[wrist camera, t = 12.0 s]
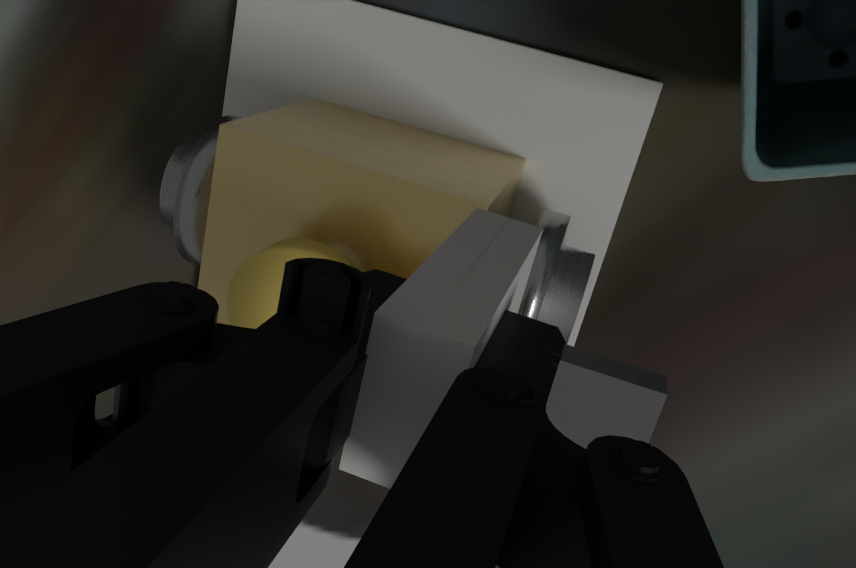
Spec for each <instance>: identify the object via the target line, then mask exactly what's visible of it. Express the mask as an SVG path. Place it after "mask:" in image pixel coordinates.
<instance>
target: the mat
mask: <svg viewBox="0 0 856 568" xmlns="http://www.w3.org/2000/svg"><path fill="white" fill-rule="evenodd" d="M662 86H663V83H661V82H658V81H654V80H650V79H646V78H643V77H639V76H635V75H631V74H628V73H624V72H620V71H616V70H613V69H609V68H605V67H601V66H598V65H594V64H590V63H587V62H583V61H579V60H575V59H572V58H568V57H564V56H560V55H557V54H553V53H549V52H545V51H542V50H538V49H534V48H531V47H527V46H523V45H519V44H516V43H512V42H508V41H504V40H501V39H497V38H493V37H489V36H486V35H482V34H478V33H474V32H471V31H467V30H463V29H460V28H456V27H452V26H448V25H445V24H441V23H437V22H433V21H430V20H426V19H422V18H418V17H415V16H411V15H407V14H404V13H400V12H396V11H392V10H389V9H385V8H381V7H377V6H374V5H370V4H366V3H362V2H359V1H355V0H238V1H237V9H236V16H235V23H234V31H233V38H232V46H231V53H230V61H229V68H228V75H227V83H226V90H225V98H224V105H223V113H222V117H223V116H226V115H235V116H239V117H242V118H244V117H248V116H252V115H256V114H259V113H263V112H267V111H271V110H274V109H278V108H282V107H285V106H289V105H293V104H297V103H300V102H304V101H308V100H312V99H315V98H318V99H321V100H325V101H328V102H332V103H335V104H339V105H342V106H345V107H349V108H352V109H356V110H359V111H363V112H366V113H370V114H373V115H376V116H380V117H383V118H387V119H390V120H394V121H397V122H401V123H404V124H407V125H411V126H414V127H418V128H421V129H425V130H428V131H431V132H435V133H438V134H442V135H445V136H449V137H452V138H456V139H459V140H462V141H466V142H469V143H473V144H476V145H480V146H483V147H487V148H490V149H493V150H497V151H500V152H504V153H507V154H511V155H514V156H518V157H521V158H524V159H527V160H526V164H525V167H524V171H523V174H522V178H521V181H520V185H519V188H518V192H517V195H516V199H515V202H514V206H513V209H512V212H511V216H510V218H511V219H514V220H518V221H521V222H524V223H527V224H531V225H535V223H536V220H537V218H538V215H539V213H540V211H541V209H542V208H546V209H549V210H553V211H556V212H559V213H563V214H566V215H569V216H571V219H570V222H569V225H568V229H567V232H566V235H565V239H564V242H563V245H567V246H570V247H573V248H576V249H580V250H583V251H586V252H589V253H593V254H595V258H594V262H593V266H592V269H591V273H590V276H589V279H588V283H587V286H586V289H585V292H584V296H583V299H582V302H581V305H580V308H579V311H578V314H577V317H576V320H575V323H574V326H573V329H572V332H571V335H570V338H569V341H568V343H567V345H570V346H573V347H574V344H575V341H576V338H577V335H578V332H579V329H580V326H581V324H582V321H583V318H584V315H585V312H586V309H587V306H588V303H589V300H590V297H591V294H592V291H593V288H594V285H595V282H596V280H597V277H598V274H599V271H600V268H601V265H602V262H603V259H604V256H605V253H606V250H607V247H608V244H609V241H610V239H611V236H612V233H613V230H614V227H615V224H616V221H617V218H618V215H619V212H620V209H621V206H622V203H623V200H624V198H625V195H626V192H627V189H628V186H629V183H630V180H631V177H632V174H633V171H634V168H635V165H636V162H637V159H638V156H639V154H640V151H641V148H642V145H643V142H644V139H645V136H646V133H647V130H648V127H649V124H650V121H651V118H652V115H653V113H654V110H655V107H656V104H657V101H658V98H659V95H660V92H661V89H662Z"/></svg>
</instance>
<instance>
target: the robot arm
mask: <svg viewBox="0 0 856 568" xmlns="http://www.w3.org/2000/svg"><path fill="white" fill-rule="evenodd" d="M542 232H543V228H540V227H537V226H534V225H531V224H527V223H524V222H521V221H518V220H514V219H511V218H508V217H505V216H502V215H498V214H495V213H492V212H489V211H486V210H482V209H479V208H476V209H475V210H474V211H473V212H472V214H471V215H470V216H469V217H468V218H467V219H466V220H465V221H464V222H463V223H462V224H461V225H460V226H459V227H458V228H457V229H456V230H455V231H454V232H453V233H452V234H451V235H450V236H449V237H448V238H447V239H446V240H445V241H444V242H443V243H442V244H441V245H440V246H439V247H438V248H437V249H436V250H435V251H434V252H433V253H432V254H431V255H430V256H429V257H428V258H427V260H426V261H425V262H424V263H423V264H422V265H421V266H420V267H419V268H418V269H417V270H416V271H415V272H414V273H413V274H412V275H411V276H410V277H409V278H408V279H405V278H402V277H399V276H396V275H393V274H390V273H387V272H384V271H381V270H378V269H374V270H370V271H366V272H361V271H360V270H358V269H356V268H354V267H352V266H349V265H347V264H345V263H341V262H337V261H333V260H329V259H321V258H311V257H310V258H297V259H294V260H291V261H288V262H285V268H284V274H283V279H282V285H281V291H280V296H279V302H278V308H277V313H276V314H274V315H273V316H272V317H271V318H269V319H268V320H267V321H265V322H264V323H263V324H262V325H260V326H259V327H258V328H256V329H253V328H244V327H239V326H233V325H227V324H222V323H217V318H218V311H219V305H218V303H217V301H216V299H215V298H214V297H213V296H211V295H210V294H209V293H207V292H206V291H204V290H201V289H198V288H196V287H194V286H192V285H190V284H186V283H183V284H181V282H175V281H170V282H154V283H148V284H142V285H138V286H134V287H131V288H127V289H124V290H120V291H117V292H114V293H110V294H107V295H103V296H100V297H97V298H93V299H90V300H86V301H83V302H79V303H76V304H73V305H69V306H66V307H62V308H59V309H55V310H52V311H49V312H45V313H42V314H38V315H35V316H31V317H28V318H25V319H21V320H18V321H14V322H11V323H7V324H4V325H1V326H0V568H268V566H269V565H270V564H271V562H272V561H273V559H274V558H275V557H276V555H277V554H278V552H279V551H280V550H281V548H282V547H283V545H284V544H285V543H286V541H287V540H288V538H289V537H290V536H291V534H292V533H293V532H294V530H295V528H296V527H297V526H298V525H299V523H300V522H301V520H302V519H303V518H304V516H305V515H306V513H307V512H308V511H309V509H310V508H311V506H312V505H313V504H314V502H315V501H316V499H317V498H318V497H319V495H320V494H321V492H322V491H323V490H324V488H325V487H326V484H327V482H328V479H329V475H330V471H331V466H332V462H333V457H334V456H335V454H336V453H337V452H338V450H339V449H340V448H341V446H342V445H343V444H344V442H345V445H344V449H343V453H342V458H341V462H340V466H339V469H340V470H343V471H345V472H348V473H350V474H353V475H356V476H358V477H361V478H363V479H366V480H369V481H371V482H374V483H376V484H379V485H382V486H384V487H387V488H389V489H390V490H389V492H388V494H387V496H386V497H385V499H384V501H383V502H382V504H381V506H380V507H379V509H378V511H377V512H376V514H375V516H374V518H373V519H372V521H371V523H370V524H369V526H368V528H367V529H366V531H365V533H364V535H363V536H362V538H361V540H360V541H359V543H358V545H357V546H356V548H355V550H354V551H353V553H352V555H351V557H350V558H349V560H348V562H347V563H346V565H345V567H344V568H495V566H496V565H497V566H499V567H500V568H724V567H723V564H722V562H721V560H720V557H719V555H718V552H717V550H716V548H715V545H714V543H713V540H712V538H711V536H710V533H709V531H708V528H707V526H706V524H705V521H704V519H703V516H702V514H701V512H700V509H699V507H698V505H697V502H696V500H695V497H694V495H693V493H692V490H691V488H690V485H689V483H688V481H687V478H686V476H685V475H684V473H683V472H682V470H681V469H680V467H679V466H678V465H677V464H676V463H675V462H674V461H673V460H671V459H670V458H669V457H668V456H667V455H665V454H664V453H663V452H662V451H661V450H659V449H658V448H656V447H654V446H653V447H652V446H651V445H650V444H648V443H646V442H644V441H640V440H638V441H637V440H634V439H631V438H628V437H622V436H614V435H607V436H602V437H596V438H595V439H594V440H593V441H591V442H590V443H589V444H588V446H587V448H586V449H585V448H583V447H582V446H580V445H578V444H576V443H575V442H573V441H572V440H570V439H569V438H567V437H566V436H564V435H563V434H562V433H561V432H560V431H559V430H558V429H556V428H555V426H554V425H553V424H552V422H551V421H550V420H549V418H548V415H547V413H546V404H547V400H548V397H549V394H550V391H551V388H552V385H553V381H554V378H555V375H556V372H557V369H558V365H559V362H560V359H561V356H562V353H563V349H564V346H565V343H566V341H565V339H564V337H563V335H562V333H561V332H560V330H559V328H558V327H556V326H553V325H550V324H547V323H544V322H541V321H538V320H535V319H532V318H529V317H526V316H523V315H520V314H518V310H519V307H520V304H521V301H522V297H523V294H524V291H525V287H526V284H527V281H528V278H529V274H530V271H531V268H532V265H533V261H534V258H535V255H536V251H537V248H538V245H539V242H540V238H541V235H542ZM113 387H115V394H114V404H113V414H112V415H109V416H107V417H105V418H103V419H98V420H96V419H95V415H94V413H95V400H96V395H97V394H99V393H101V392H103V391H105V390H108V389H110V388H113Z"/></svg>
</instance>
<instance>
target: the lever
mask: <svg viewBox="0 0 856 568" xmlns="http://www.w3.org/2000/svg"><path fill="white" fill-rule="evenodd" d="M310 257H311V258H321V259H329V260H333V261H337V262H341V263H345V264H347V265H349V266H351V264H350V263H349V262H348V261H347V260H346V259H345V258H344V257H343V256H342V255H341V254H340V253H338V252H337V251H336V250H334V249H333V248H331V247H329V246H327V245H326V244H324V243H321V242H318V241H315V240H311V239H306V238H289V239H284V240H281V241H278V242H276V243H274V244H272V245H270V246H268V247H267V248H265V249H263V250H262V251H260V252H259V253H257V254H255V255H254V256H252V257H251V258H249V259H248V260H246V261H245V262H244V263H243V264H242V265H241V266H240V267H239V268H238V270H237V271H236V272H235V274H234V276H233V278H232V280H231V282H230V285H229V289H228V294H227V312H228V317H229V321H230V324H231V325H233V326H239V327H244V328H253V329H256V328H258V327H259V326H260V325H262V324H263V323H264V322H265V321H267V320H268V319H269V318H271V317H272V316H273V315H274V314H276V313H277V308H278V302H279V296H280V291H281V285H282V279H283V274H284V268H285V262H288V261H291V260H294V259H297V258H310ZM666 397H667V376H664V375H661V374H658V373H655V372H652V371H648V370H645V369H642V368H639V367H636V366H633V365H630V364H626V363H623V362H620V361H617V360H614V359H611V358H608V357H605V356H601V355H598V354H595V353H592V352H589V351H586V350H583V349H579V348H576V347H573V346H570V345H567V344H565V346H564V349H563V353H562V356H561V359H560V362H559V365H558V369H557V372H556V375H555V378H554V381H553V385H552V388H551V391H550V394H549V397H548V400H547V404H546V413H547V415H548V418H549V420H550V421H551V422H552V424H553V425H554V426H555V428H556V429H558V430H559V431H560V432H561V433H562V434H563V435H564V436H566V437H567V438H569V439H570V440H572V441H573V442H575V443H576V444H578V445H580V446H582V447H583V448H585V449H586V448H587V446H588V444H589V443H590V442H591V441H593V440H594V439H595V438H596V437H602V436H607V435H614V436H622V437H628V438H631V439H634V440H637V441H638V440H640V441H644V442H646V443H649V440H650V438H651V435H652V433H653V430H654V428H655V425H656V423H657V420H658V418H659V415H660V413H661V410H662V407H663V405H664V402H665V400H666Z"/></svg>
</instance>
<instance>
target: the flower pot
mask: <svg viewBox="0 0 856 568" xmlns="http://www.w3.org/2000/svg"><path fill="white" fill-rule="evenodd" d="M792 13H796V14H798V15H799V16H800V22H799V24H798V25H797V26H796V27H792V28H791V27H788V26H787V25H786V18H787V16H788V15H790V14H792ZM834 52H840V53H842V54H843V55H844V59H843V62H842V63H840V64H839V65H832V64H831V63H830V56H831V55H832V54H833V53H834ZM740 139H741V157H742V168H743V171H744V173H745V175H746V176H747V177H748V178H749V179H751V180H754V181H760V182H763V181H782V180H790V179H803V178H815V177H829V176H837V175H854V174H856V0H741V113H740Z"/></svg>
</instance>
